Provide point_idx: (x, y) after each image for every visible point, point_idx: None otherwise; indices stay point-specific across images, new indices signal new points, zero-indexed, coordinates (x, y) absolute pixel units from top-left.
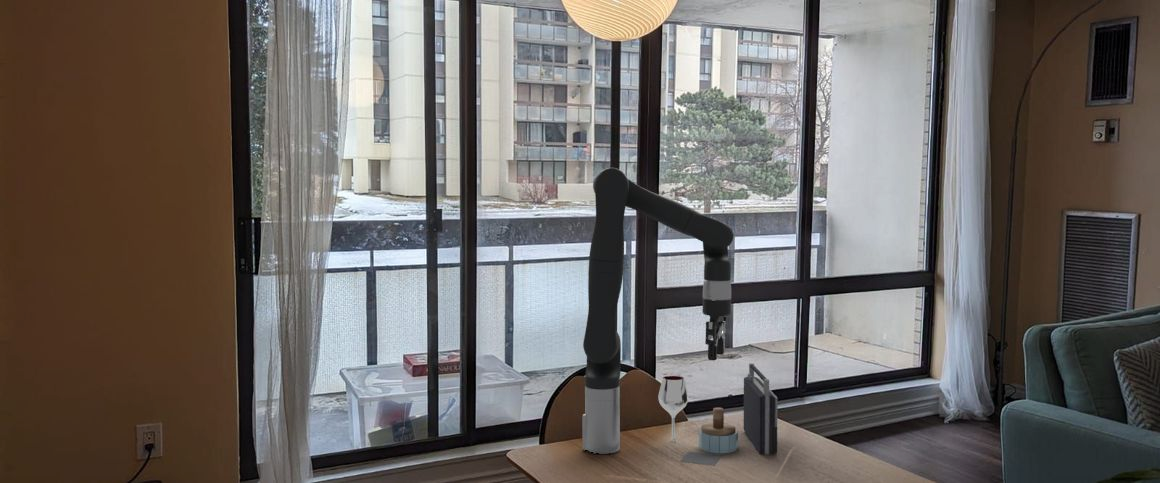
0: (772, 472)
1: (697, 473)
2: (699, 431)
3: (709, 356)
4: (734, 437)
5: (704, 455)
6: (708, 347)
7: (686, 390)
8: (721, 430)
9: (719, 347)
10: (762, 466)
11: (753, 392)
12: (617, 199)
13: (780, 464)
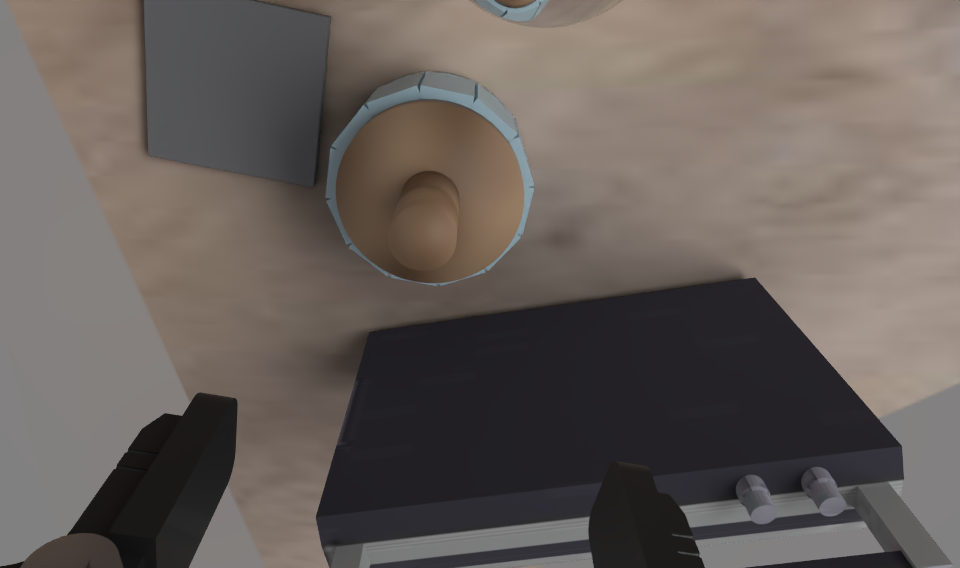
0: (184, 363)
1: (41, 77)
2: (407, 88)
3: (142, 435)
4: None
5: (285, 104)
6: (121, 516)
7: (527, 18)
8: (369, 216)
9: (617, 564)
10: (245, 334)
11: (518, 479)
12: None
13: (291, 391)
